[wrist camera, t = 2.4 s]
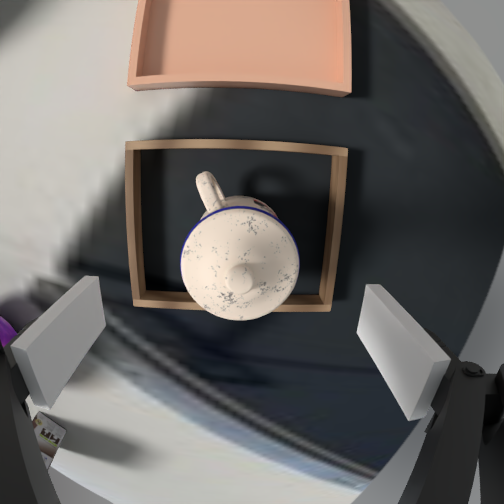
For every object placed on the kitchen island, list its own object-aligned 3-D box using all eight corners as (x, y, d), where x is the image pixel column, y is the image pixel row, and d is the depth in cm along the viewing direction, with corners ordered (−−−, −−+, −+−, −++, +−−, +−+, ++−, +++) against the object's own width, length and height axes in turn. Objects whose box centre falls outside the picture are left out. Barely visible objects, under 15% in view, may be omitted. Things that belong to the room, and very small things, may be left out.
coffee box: (37, 409, 39) (0, 473, 24) (67, 430, 41) (36, 498, 25) (30, 429, 41) (-1, 486, 26) (58, 447, 43) (30, 507, 27)
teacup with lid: (297, 258, 33) (326, 310, 22) (218, 292, 34) (210, 356, 22) (250, 150, 29) (258, 147, 18) (166, 190, 30) (127, 210, 19)
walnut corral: (139, 296, 33) (133, 306, 31) (133, 142, 28) (125, 141, 26) (324, 301, 34) (330, 311, 32) (340, 148, 29) (347, 148, 27)
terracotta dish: (136, 91, 27) (127, 85, 24) (154, -35, 22) (148, -47, 19) (342, 97, 28) (351, 92, 25) (338, -28, 23) (345, -40, 20)
